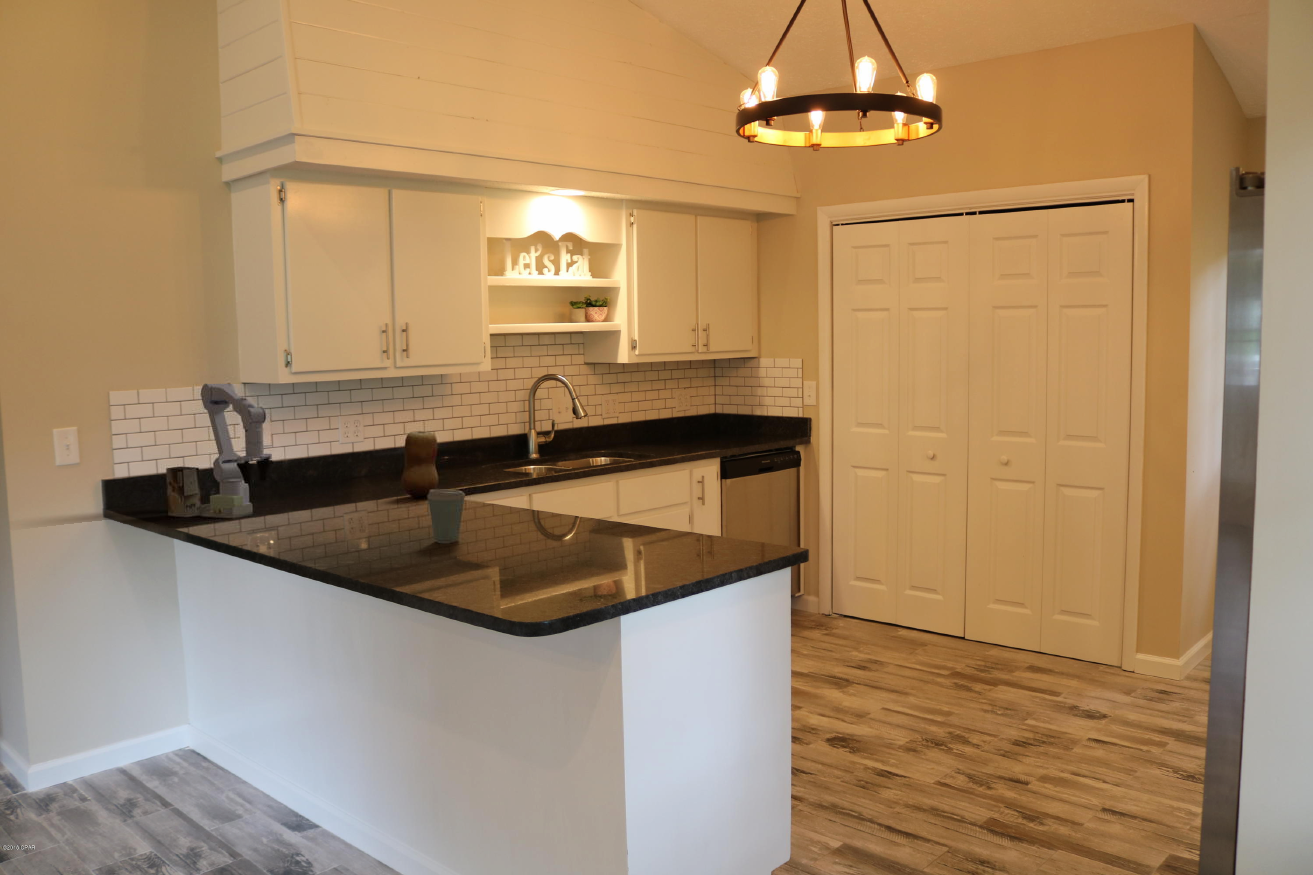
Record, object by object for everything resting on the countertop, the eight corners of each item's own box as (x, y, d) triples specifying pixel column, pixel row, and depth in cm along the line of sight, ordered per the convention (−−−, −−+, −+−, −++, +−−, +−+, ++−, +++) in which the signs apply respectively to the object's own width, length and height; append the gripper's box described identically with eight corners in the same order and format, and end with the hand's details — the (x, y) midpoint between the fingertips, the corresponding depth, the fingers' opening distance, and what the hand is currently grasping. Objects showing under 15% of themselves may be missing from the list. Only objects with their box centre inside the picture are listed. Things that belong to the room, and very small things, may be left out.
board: (210, 507, 335) (209, 496, 335) (219, 506, 339) (218, 494, 339) (234, 509, 332) (234, 497, 332) (243, 507, 336) (242, 495, 336)
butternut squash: (433, 500, 371) (432, 432, 369) (397, 500, 371) (396, 432, 369) (442, 494, 385) (441, 429, 383) (407, 494, 385) (406, 429, 383)
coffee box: (202, 515, 337) (200, 467, 335) (185, 517, 331) (183, 469, 330) (183, 513, 341) (182, 465, 340) (166, 515, 335) (165, 467, 334)
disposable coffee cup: (449, 536, 296) (449, 486, 294) (474, 541, 289) (473, 489, 287) (420, 542, 287) (419, 489, 286) (444, 546, 281) (443, 493, 279)
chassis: (199, 516, 334) (198, 505, 334) (219, 512, 343) (218, 501, 342) (233, 518, 330) (232, 507, 329) (252, 514, 338) (252, 503, 338)
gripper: (248, 444, 335) (250, 485, 336) (278, 441, 349) (279, 480, 350) (231, 444, 338) (233, 484, 339) (261, 440, 351) (263, 479, 352)
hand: (255, 482), depth 345 cm, fingers open, 7 cm apart
